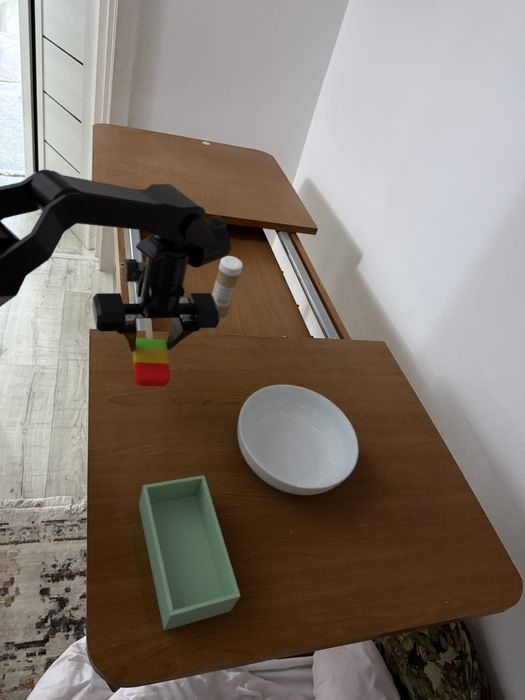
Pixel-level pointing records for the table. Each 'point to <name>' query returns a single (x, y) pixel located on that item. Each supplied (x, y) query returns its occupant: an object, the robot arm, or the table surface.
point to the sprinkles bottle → (226, 283)
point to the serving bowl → (296, 439)
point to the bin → (186, 552)
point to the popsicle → (151, 360)
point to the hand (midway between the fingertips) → (150, 348)
